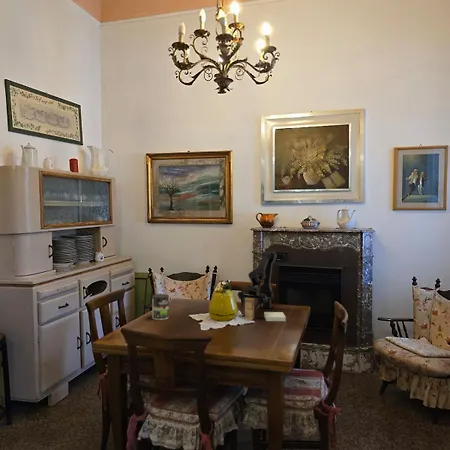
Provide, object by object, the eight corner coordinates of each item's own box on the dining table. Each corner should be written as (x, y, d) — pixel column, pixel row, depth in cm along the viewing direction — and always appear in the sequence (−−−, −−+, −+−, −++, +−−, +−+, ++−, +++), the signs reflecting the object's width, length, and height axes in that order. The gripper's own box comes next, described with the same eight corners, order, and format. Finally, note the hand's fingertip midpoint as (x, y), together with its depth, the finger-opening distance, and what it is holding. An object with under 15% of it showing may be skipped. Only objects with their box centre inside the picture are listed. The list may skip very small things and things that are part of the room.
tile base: (264, 315, 278) (264, 312, 277) (282, 316, 278) (282, 312, 278) (266, 321, 266) (266, 317, 265) (285, 321, 266) (285, 317, 266)
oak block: (247, 317, 273) (247, 297, 273) (254, 318, 272) (254, 298, 271) (244, 319, 269) (245, 298, 269) (251, 320, 267) (251, 299, 267)
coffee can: (171, 318, 270) (171, 296, 269) (156, 321, 264) (156, 298, 263) (163, 314, 278) (163, 293, 277) (149, 317, 272) (149, 295, 271)
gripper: (238, 279, 277) (231, 299, 267) (266, 281, 269) (260, 302, 260) (243, 288, 285) (236, 309, 275) (270, 291, 277) (264, 312, 267)
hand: (248, 308), depth 269 cm, fingers open, 9 cm apart
